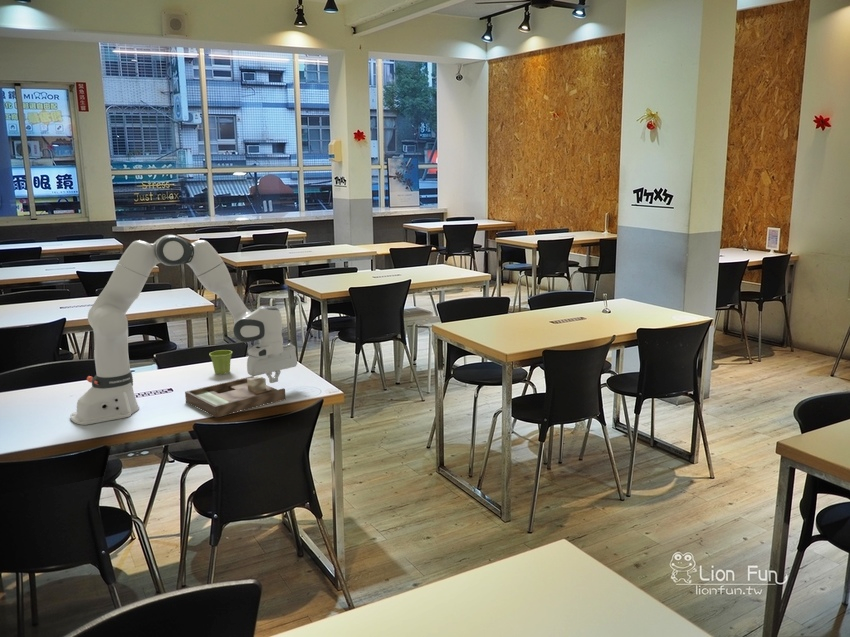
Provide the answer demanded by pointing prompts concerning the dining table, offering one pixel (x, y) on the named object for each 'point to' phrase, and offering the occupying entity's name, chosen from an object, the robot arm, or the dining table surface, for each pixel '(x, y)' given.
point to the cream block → (256, 383)
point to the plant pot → (221, 361)
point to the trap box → (231, 397)
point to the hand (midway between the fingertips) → (273, 382)
